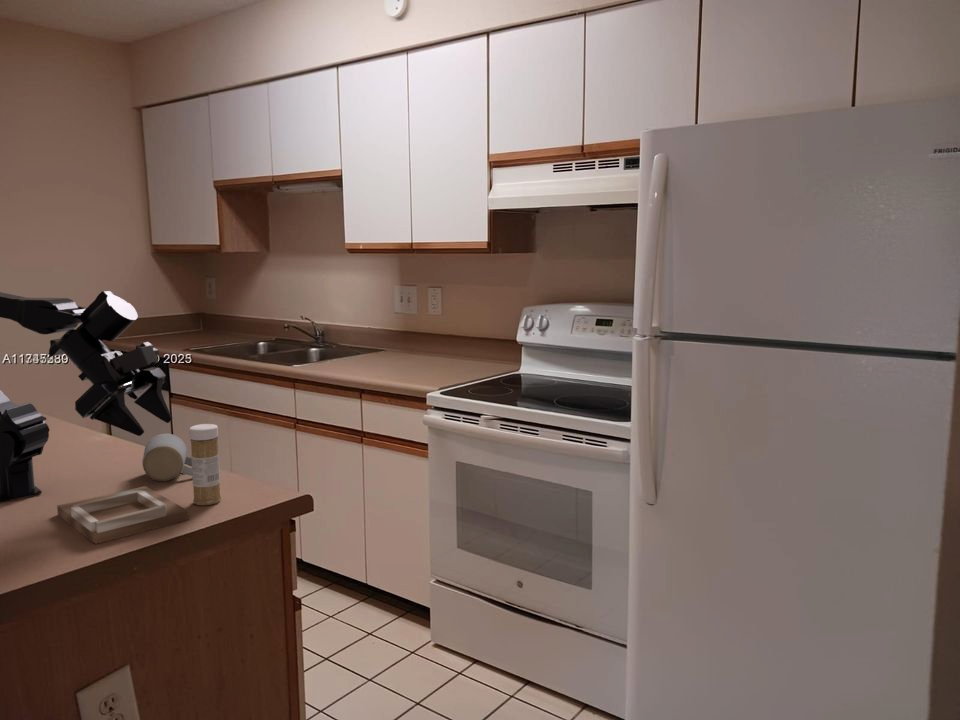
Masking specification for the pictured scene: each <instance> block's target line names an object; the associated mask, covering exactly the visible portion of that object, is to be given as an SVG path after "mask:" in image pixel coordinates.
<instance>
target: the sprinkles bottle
mask: <svg viewBox="0 0 960 720" xmlns="http://www.w3.org/2000/svg"><path fill="white" fill-rule="evenodd" d="M218 437H219V427H218V425H217V424H214V423H200V424H196V425H192V426H190V427H189V441H190V444H191V445H190V447H191V448H190V449H191V456H190V457H191V458H192V467H191V468H192V476H191V477H192V485H193V486H192V487H193V504H195V505H197V506H212V505H215V504H218V503H219V502H221V499H222V497H221V487H220V486H221V484H220V482H221V478H220V477H221V476H220V473H221V472H220V454H219V443H218V439H219V438H218Z"/></svg>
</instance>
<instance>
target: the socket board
mask: <svg viewBox="0 0 960 720" xmlns="http://www.w3.org/2000/svg"><path fill="white" fill-rule="evenodd" d="M56 506H57V507H56V509H57V516H58V517H60V518H61V519H63V520H64V521H65V522H66V523H67V524H69V525H70V527H72V528H74V529H75V530H76V531H77V532H79V533H80V534H81V533H82V534H81V535H83V536H84V537H85V538H86V539H87V540H89V541H90V540H91V541H92V542H91V541H90V542H91V543H92V544H94V543H95V544H94V545H98V544H97V543H99V544H101V543H102V542H103V543H106V542H110V541H113V539H114V540H117V539H116V538H118V539H121V538H120V537H122V538H124V536H125V537H128V536H127V535H129V536H132V535H131V534H133V535H137V534H139V532H141V533H144V532H148V531H152V530H155V529H159V527H160V528H163V527H166V526H170V524H171V525H174V524H175V525H176V524H179V523H181V522H182V523H183V522H185V520H186V521H189V510H188V509H186V508H185V507H183V506H181V505H179V504H178V503H176V502H174V501H172V500H170V498H167V497H165V496H163V495H161V493H158V492H156V491H154V490H153V489H151V488H149V487H147V486H146V485H145V486H140V487H136V488H132V489H126V490H122V491H117V492H113V493H108V494H103V495H99V496H94V497H90V498H86V499H85V498H84V499H80V500H76V501H72V502H67V503H62V504H58V505H56ZM178 522H179V523H178ZM151 529H152V530H151ZM147 530H148V531H147ZM143 531H144V532H143ZM136 533H137V534H136ZM105 541H106V542H105Z"/></svg>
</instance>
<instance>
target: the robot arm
mask: <svg viewBox="0 0 960 720" xmlns="http://www.w3.org/2000/svg"><path fill="white" fill-rule="evenodd" d="M138 317H139V316H138V312H137V310H136V309H135V307H134V306H133V304H131V303H130V302H128V301H126V300H125V299H123V298H122V297H119V296H117V295H114V293H113V292H112V291H111V290H104V291H103V290H102V291H101V292H100V293H99V294H98V295H97V296H96V298H95V299H94V300H93V302H91V303H90V304H89V305H88V306H87V307H85V306H79V305H77V302H76V301H74V300H73V299H70V298H68V297H26V296H25V297H24V296H21V295H15V294H11V293H5V292H2V291H0V318H2V319H7V320H11V321H13V322H15V323H17V324H18V325H20V326H21V327H23V328H25V329H27V330H30V331H32V332H34V333H36V334H40V335H50V334H58V333H63V332H65V333H63V335H62V336H61V337H60V338H56V339H51V340H49V343H50V345H49V348H48V349H49V350H48V356H49V357H55V356H60V355H65V356H67V358H68V359H69V361H70V362H71V363H73V364H74V365H75V366H74V367H76V368H77V369H78V370H79V371H80V372H81V373H80V374H79V375H78V378H79V380H81V382H84V381H87V380H88V381H89V382H90V383H91V384H92V385H91V386H90V387H89V388H88V389H87V390H85V392H84V393H82V395H81V396H80V397H78V398H77V399H76V400H75V401H74V407H75V408H74V409H75V411H76V412H77V414H79V415H80V416H81V418H82V419H84V418H87V417H89V419H90V420H92V421H94V420H95V421H99V422H101V423H104V424H107V425H110V426H113V427H116V428H118V429H120V430H123V431H125V432H128V433H130V434H133V435H136V436H138V437H141V436H142V435H143V434H144V433H145V430H144V428H143V427H142V426H141V424H140V422H139V421H138V419H136V417H135V415H134V414H132V412H131V411H130V409H129V408H128V407H127V405H126V403H125V402H126V399H125V395H128V396H129V398H131V399H133V400H134V402H133V403H134V404H136V405H138V407H141V408H142V409H144V410H145V411H146V412H148V413H150V414H152V416H154V417H156V418H158V419H159V420H161V421H163V422H165V423H166V424H170V423H171V421H173V417H172V414H171V412H170V411H169V410H170V409H169V407H168V405H167V403H166V401H165V398H164V395H163V393H162V390H163V389H162V388H163V384H164V383H165V378H166V374H165V372H164V371H163V370H162V369H161V368H160V367H154V366H152V367H149V368H145V369H142V370H140V369H141V368H143V367H147V366H149V365H151V364H152V365H154V364H158V363H159V359H158V356H159V352H160V351H159V349H158V348H156V347H155V345H154V344H152V343H150V342H149V341H145V342H142V343H141V344H136V346H135V349H132V350H129V351H128V352H124V353H122V352H121V351H119V350H114V351H112V350H111V349H110V348H109V347H108V346H107V345H106V344H105V343H104V342H105V341H107V342H114V341H115V340H116V339H118V338H119V337H120V336H121V335H122V334H123V333H124V332H125V331H126V330H127V329H128V328H129V327H130V326H131V325H132V324H133V323H134V322H136V320H137V319H138ZM79 324H80V325H79ZM78 325H79V326H78ZM77 326H78V327H77ZM36 408H37V407H35V406H34V404H32V403H31V402H27V403H23V404H20V405H19V404H17V403H14V402H13V401H12V400H10V399H9V397H8V396H7V395H6V394H5V393H4V392H3V391H2V390H1V389H0V503H2V502H3V503H5V502H8V501H13V500H18V499H23V498H28V497H33V496H38V495H41V494H42V490H41V489H40V488H38V486H36V485H35V476H34V475H35V474H34V462H33V458H34V457H36V456H40V455H43V451H44V447H45V445H46V444H47V442H48V440H49V437H50V433H49V432H50V427H49V425H48V424H47V422H46V420H47V417H45V416H43V414H41V413H39V411H38V410H37V409H36Z"/></svg>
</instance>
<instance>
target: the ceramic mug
mask: <svg viewBox="0 0 960 720" xmlns="http://www.w3.org/2000/svg"><path fill="white" fill-rule="evenodd" d="M187 454H188V449H187V445H186V444H185V442H184V441H183V439H181V438H180V437H179V436H177V435H175V434H172V433H160V434H157V435H154V436H153V437H151V438H150V439H149V440H148V442H147V443H146V445H145V447H144V451H143V456H142V461H141V462H142V463H141V464H142V468H143V471H144V473H145V474H146V475H147V477H149V478H150V479H151V480H154V481H158V482H166V481H171V480H173V479H175V478H176V477H178V475H180V473H182V474H184V475H186V476H187V475H188V476H191V477H192V457H191V456H188V455H187Z"/></svg>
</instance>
